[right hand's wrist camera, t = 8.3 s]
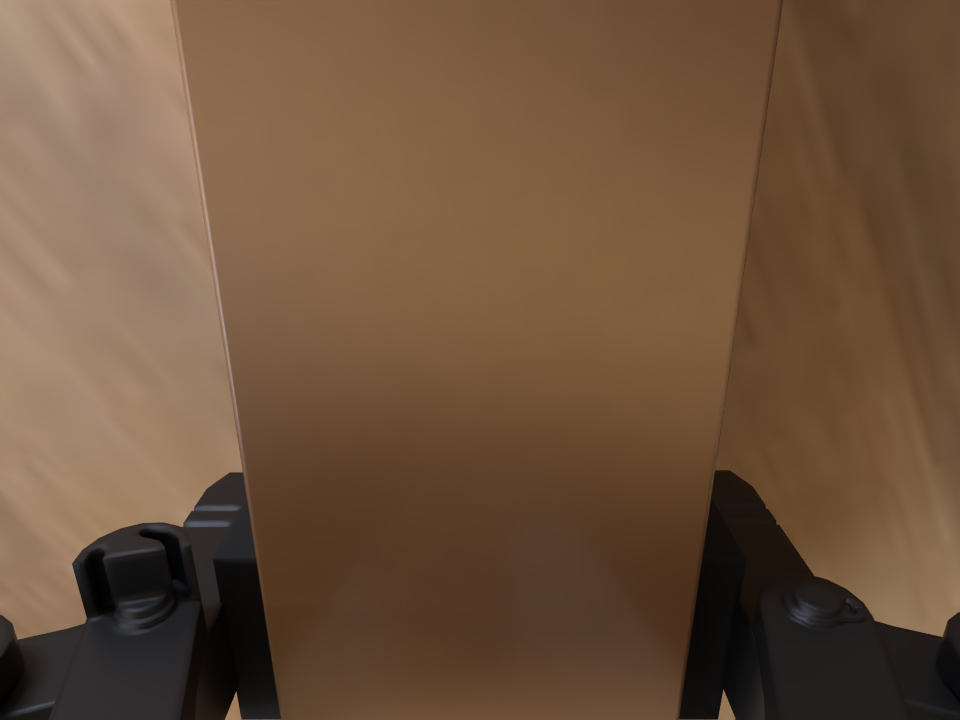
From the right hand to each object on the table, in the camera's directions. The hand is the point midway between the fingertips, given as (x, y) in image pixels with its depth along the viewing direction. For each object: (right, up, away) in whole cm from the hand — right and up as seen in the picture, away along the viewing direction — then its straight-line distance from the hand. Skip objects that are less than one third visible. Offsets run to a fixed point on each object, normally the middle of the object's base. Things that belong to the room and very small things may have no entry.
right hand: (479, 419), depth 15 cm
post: (0, +29, -11) cm, 31 cm away
